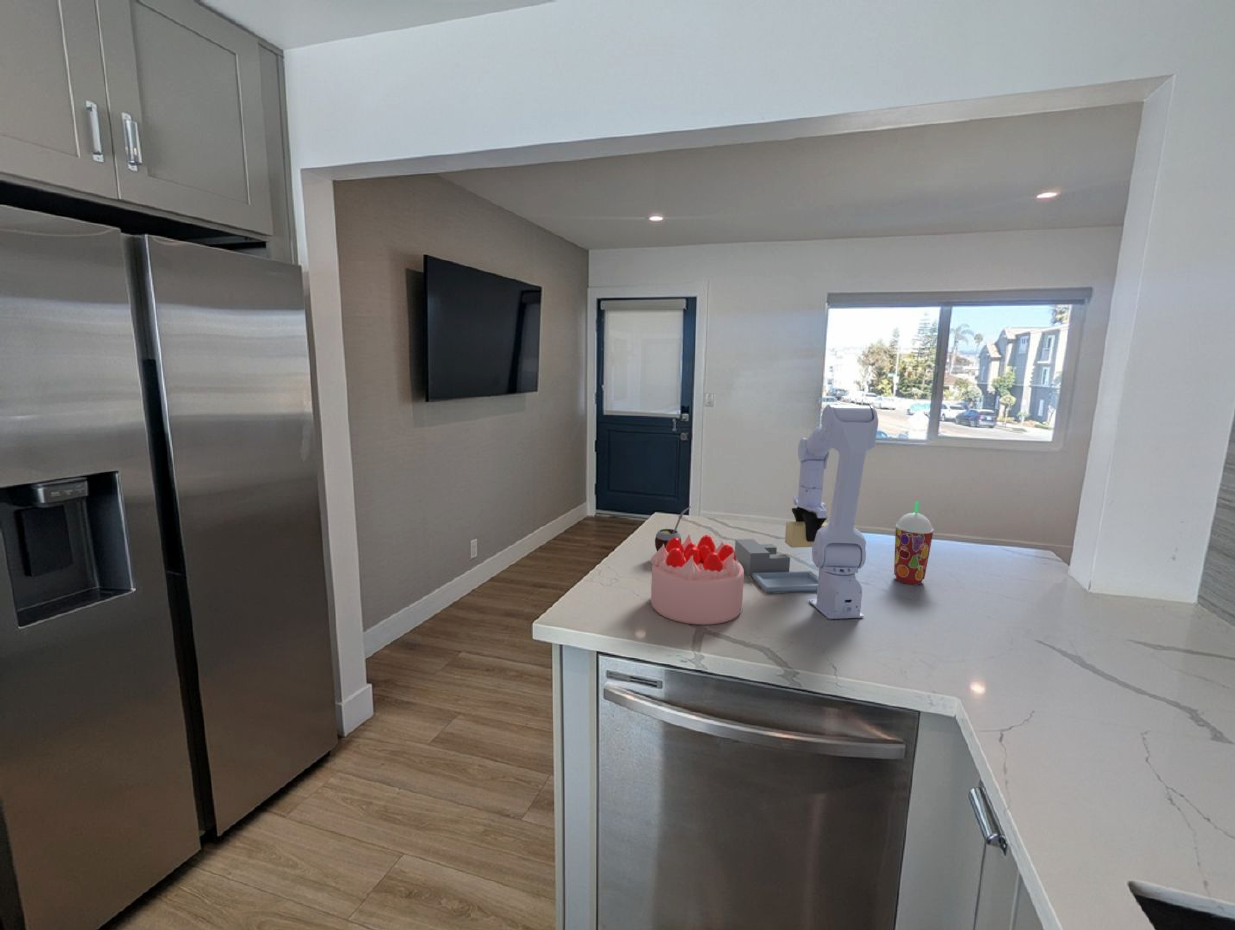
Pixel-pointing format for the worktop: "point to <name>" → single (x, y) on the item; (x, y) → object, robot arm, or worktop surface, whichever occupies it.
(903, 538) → the smoothie
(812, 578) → the tray
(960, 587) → the worktop surface
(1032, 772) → the worktop surface
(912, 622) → the worktop surface
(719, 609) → the cake
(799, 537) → the tan block with handle
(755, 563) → the dock
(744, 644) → the worktop surface
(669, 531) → the mate gourd
